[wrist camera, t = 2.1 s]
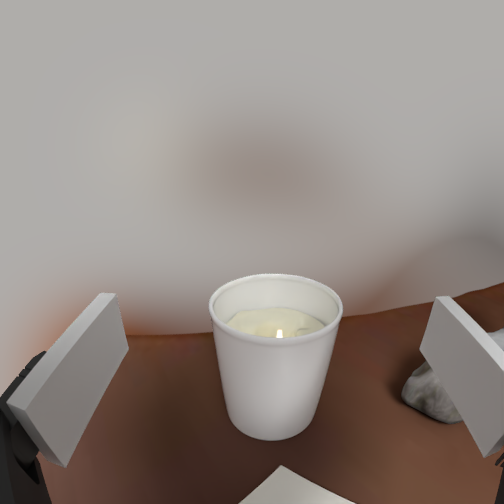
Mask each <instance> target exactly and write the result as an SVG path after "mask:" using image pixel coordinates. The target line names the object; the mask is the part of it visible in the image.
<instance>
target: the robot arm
mask: <svg viewBox="0 0 504 504" xmlns="http://www.w3.org/2000/svg"><path fill="white" fill-rule="evenodd" d="M128 349H129V348H128V344H127V340H126V336H125V331H124V327H123V323H122V318H121V314H120V309H119V304H118V299H117V294H111V293H100V294H99V295H98V296H97V297H96V298H95V299H94V300H93V301H92V302H91V304H89V306H88V307H87V308H86V309H85V310H84V311H83V312H82V313H81V314H80V315H79V316H78V317H77V318H76V320H75V321H74V322H73V323H72V324H71V325H70V326H69V327H68V328H67V330H66V331H65V332H64V333H63V334H62V335H61V336H60V337H59V339H58V340H57V341H56V342H55V343H54V344H53V345H52V347H51V348H50V349H49V350H48V351H47V352H46V351H43V352H41V353H40V354H38V355H37V356H35V357H34V358H33V359H32V360H31V361H30V362H29V363H28V364H27V365H26V366H25V369H23V370H22V371H21V372H20V374H19V377H16V378H15V380H14V381H13V382H12V383H11V385H10V386H9V387H8V388H7V389H6V391H5V392H4V393H3V394H2V396H1V397H0V504H52V503H51V500H50V497H49V494H48V491H47V487H46V484H45V481H44V477H43V474H42V470H41V466H40V463H39V461H38V459H37V457H36V455H37V453H38V451H40V452H41V453H42V454H43V456H44V457H45V458H46V459H47V460H48V461H50V462H52V463H55V464H57V465H59V466H62V467H65V468H66V467H67V464H68V462H69V460H70V458H71V456H72V454H73V452H74V450H75V448H76V446H77V444H78V442H79V440H80V438H81V436H82V434H83V432H84V430H85V428H86V426H87V424H88V422H89V420H90V419H91V417H92V415H93V413H94V411H95V409H96V407H97V405H98V403H99V402H100V400H101V398H102V396H103V394H104V392H105V390H106V389H107V387H108V385H109V383H110V381H111V380H112V378H113V376H114V374H115V372H116V371H117V369H118V367H119V365H120V363H121V362H122V360H123V358H124V356H125V355H126V353H127V351H128ZM419 350H420V351H421V353H422V354H423V356H424V357H425V359H426V360H427V362H428V363H429V365H430V366H431V368H432V370H433V371H434V373H435V374H436V376H437V377H438V379H439V381H440V382H441V384H442V385H443V387H444V389H445V390H446V392H447V393H448V395H449V397H450V398H451V400H452V402H453V403H454V405H455V407H456V408H457V410H458V412H459V414H460V415H461V417H462V419H463V420H464V422H465V424H466V426H467V427H468V429H469V431H470V433H471V435H472V436H473V438H474V440H475V442H476V444H477V446H478V448H479V449H480V451H481V453H482V455H483V457H484V458H485V457H487V456H489V455H491V454H493V453H495V452H497V451H499V450H500V449H501V447H502V446H503V445H504V351H503V350H502V349H501V348H500V347H499V346H498V345H497V344H496V343H495V342H494V340H493V339H492V338H491V337H490V336H489V335H488V334H487V333H486V332H485V331H484V330H483V329H482V328H481V327H480V326H479V325H478V324H477V323H476V322H475V321H474V320H473V319H472V318H471V317H470V316H469V315H468V314H467V313H466V312H465V311H464V310H463V309H462V308H461V307H460V306H459V305H458V304H457V303H456V302H455V301H454V300H453V299H452V298H451V297H449V296H439V297H435V300H434V304H433V308H432V311H431V314H430V318H429V321H428V324H427V328H426V331H425V334H424V337H423V340H422V343H421V346H420V349H419ZM503 459H504V453H503V454H502V455H501V456H500V458H499V459H498V460H497V461H496V463H495V465H496V466H497V465H498V464H499V463H500V462H501V461H502V460H503ZM500 467H503V470H502V475H501V480H500V484H499V489H498V493H497V496H496V500H495V504H504V462H503V463H502V464H501V466H500Z"/></svg>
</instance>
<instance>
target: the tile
mask: <svg viewBox="0 0 504 504" xmlns="http://www.w3.org/2000/svg"><path fill="white" fill-rule="evenodd" d="M239 504H355V503H353V502H351V501H349V500H346V499H344V498H342V497H340V496H338V495H336V494H334V493H332V492H330V491H328V490H326V489H324V488H322V487H320V486H318V485H316V484H314V483H312V482H310V481H308V480H307V479H305V478H303V477H301V476H299V475H297V474H296V473H294V472H292V471H290V470H289V469H287V468H285V467H284V466H282V465H281V466H280V467H279V468H278V469H277V470H275V471H274V472H273V473H272V474H271V475H270V476H269V477H268V478H267V479H266V480H265V481H264V482H263V483H262V484H261V485H259V486H258V487H257V488H256V489H255V490H254V491H253V492H252V493H250V494H249V495H248V496H247V497H246V498H245V499H243V500H242V501H241V502H240V503H239Z"/></svg>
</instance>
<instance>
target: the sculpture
mask: <svg viewBox="0 0 504 504" xmlns="http://www.w3.org/2000/svg"><path fill="white" fill-rule="evenodd" d="M487 334H488V335H489V336H490V337H491V338H492V339H493V340H494V342H495V343H496V344H497V345H498V346H499V347H500V348H501V349H502V350H503V351H504V327H503V329H500V330H498V331H496V332H493V333H487ZM401 398H402V400H403V401H404V402H405V403H406V404H407V405H409V406H411V407H413V408H415V409H417V410H419V411H421V412H423V413H425V414H427V415H428V416H430V417H432V418H434V419H436V420H438V421H441V422H444V423H447V424H455V423H458V422H461V421H463V419H462V417H461V415H460V414H459V412H458V410H457V408H456V407H455V405H454V403H453V402H452V400H451V398H450V397H449V395H448V393H447V392H446V390H445V389H444V387H443V385H442V384H441V382H440V381H439V379H438V377H437V376H436V374H435V373H434V371H433V370H432V368H431V366H430V365H429V363H428V362H427V360H426V361H425V362H424V363H423V364H422V365H421V366H420V367H419V368H418V369H416V370H415V371H414V372H413V373H412V375H411V377H410V378H409V379H408V380H407V382H406V383H405V385H404V387H403V389H402V393H401Z"/></svg>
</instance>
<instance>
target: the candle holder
mask: <svg viewBox="0 0 504 504" xmlns="http://www.w3.org/2000/svg"><path fill="white" fill-rule="evenodd" d="M209 313H210V316H211V321H212V327H213V334H214V340H215V347H216V353H217V359H218V365H219V371H220V376H221V382H222V388H223V393H224V398H225V403H226V408H227V412H228V415H229V418H230V420H231V422H232V423H233V424H234V426H235V427H236V428H237V429H238V430H240V431H241V432H242V433H244V434H246V435H248V436H250V437H253V438H256V439H260V440H267V441H276V440H283V439H287V438H290V437H293V436H295V435H297V434H299V433H300V432H302V431H303V430H304V429H305V428H306V427H307V426H308V425H309V424H310V422H311V421H312V419H313V417H314V414H315V412H316V409H317V406H318V402H319V399H320V396H321V392H322V389H323V385H324V382H325V378H326V375H327V371H328V367H329V363H330V360H331V356H332V352H333V348H334V344H335V340H336V335H337V331H338V327H339V323H340V320H341V317H342V314H343V304H342V302H341V299H340V298H339V296H338V295H337V294H336V293H335V292H334V291H333V290H332V289H331V288H329V287H328V286H326V285H324V284H322V283H320V282H318V281H315V280H312V279H309V278H306V277H301V276H296V275H289V274H258V275H251V276H246V277H242V278H238V279H235V280H232V281H230V282H228V283H226V284H225V285H222V286H221V287H220V288H218V289H217V290H216V291H215V292H214V293H213V295H212V296H211V298H210V301H209Z"/></svg>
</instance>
